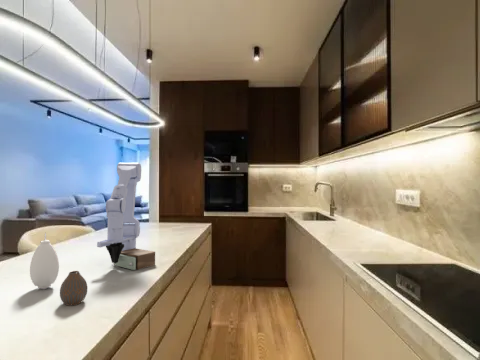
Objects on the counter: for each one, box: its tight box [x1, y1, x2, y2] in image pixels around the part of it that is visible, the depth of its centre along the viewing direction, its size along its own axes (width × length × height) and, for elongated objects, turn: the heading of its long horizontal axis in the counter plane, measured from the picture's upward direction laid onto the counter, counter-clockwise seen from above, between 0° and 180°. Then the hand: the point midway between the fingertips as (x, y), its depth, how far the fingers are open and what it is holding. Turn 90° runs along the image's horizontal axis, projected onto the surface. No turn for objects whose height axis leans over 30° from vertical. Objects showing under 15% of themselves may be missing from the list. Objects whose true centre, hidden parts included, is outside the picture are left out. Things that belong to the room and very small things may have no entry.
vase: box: [59, 270, 88, 306], centre depth 87 cm, size 7×7×9 cm
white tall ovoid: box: [29, 232, 60, 290], centre depth 99 cm, size 8×8×18 cm
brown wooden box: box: [120, 247, 156, 271], centre depth 129 cm, size 13×9×6 cm
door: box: [113, 254, 137, 271], centre depth 123 cm, size 14×2×5 cm, turn 55°
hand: (114, 262), depth 122 cm, fingers closed
